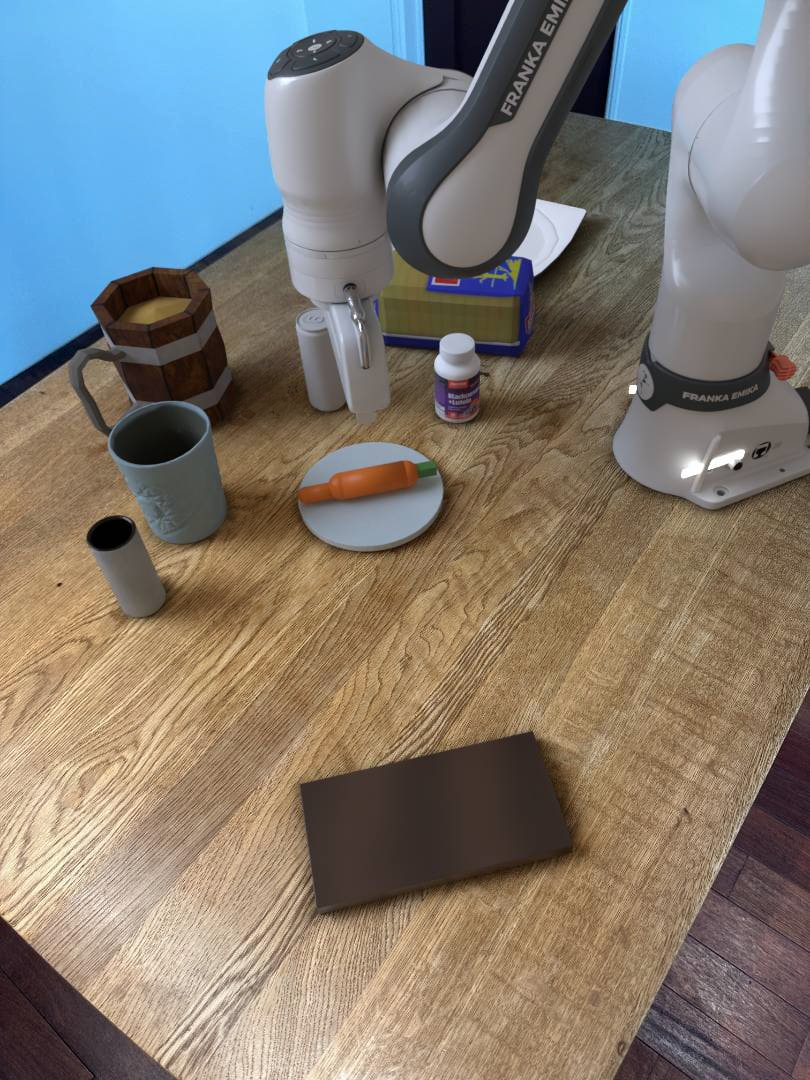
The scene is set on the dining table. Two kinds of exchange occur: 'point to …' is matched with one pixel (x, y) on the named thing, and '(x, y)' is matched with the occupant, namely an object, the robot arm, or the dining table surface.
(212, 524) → the blue cup
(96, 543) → the grey hollow cylinder
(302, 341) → the beverage can
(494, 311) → the bread
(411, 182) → the robot arm
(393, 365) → the dining table surface
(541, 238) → the plate
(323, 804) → the cutting board
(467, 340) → the pill bottle
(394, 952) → the dining table surface
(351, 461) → the side plate
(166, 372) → the mug
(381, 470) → the carrot
